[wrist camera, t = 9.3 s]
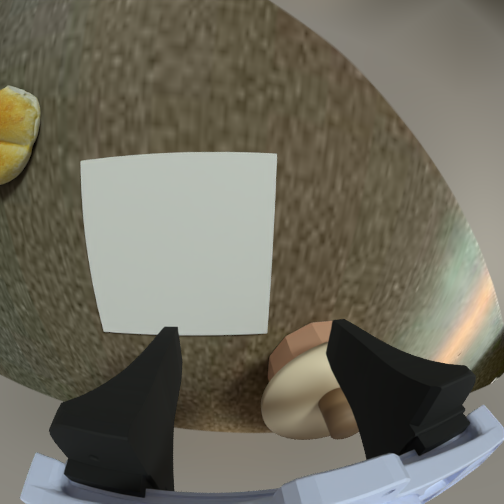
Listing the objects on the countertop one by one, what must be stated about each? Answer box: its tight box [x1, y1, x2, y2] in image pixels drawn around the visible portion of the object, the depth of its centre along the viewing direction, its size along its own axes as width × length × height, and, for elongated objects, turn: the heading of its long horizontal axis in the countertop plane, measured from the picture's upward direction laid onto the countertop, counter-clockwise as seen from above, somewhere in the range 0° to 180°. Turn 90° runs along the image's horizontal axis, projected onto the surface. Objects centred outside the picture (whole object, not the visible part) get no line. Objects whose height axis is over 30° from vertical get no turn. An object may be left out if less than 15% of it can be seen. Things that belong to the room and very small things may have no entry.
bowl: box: [268, 321, 332, 382], centre depth 24 cm, size 10×10×5 cm
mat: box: [81, 152, 277, 335], centre depth 21 cm, size 15×15×1 cm
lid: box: [261, 338, 384, 440], centre depth 20 cm, size 13×13×4 cm
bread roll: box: [0, 86, 41, 185], centre depth 14 cm, size 8×9×4 cm
